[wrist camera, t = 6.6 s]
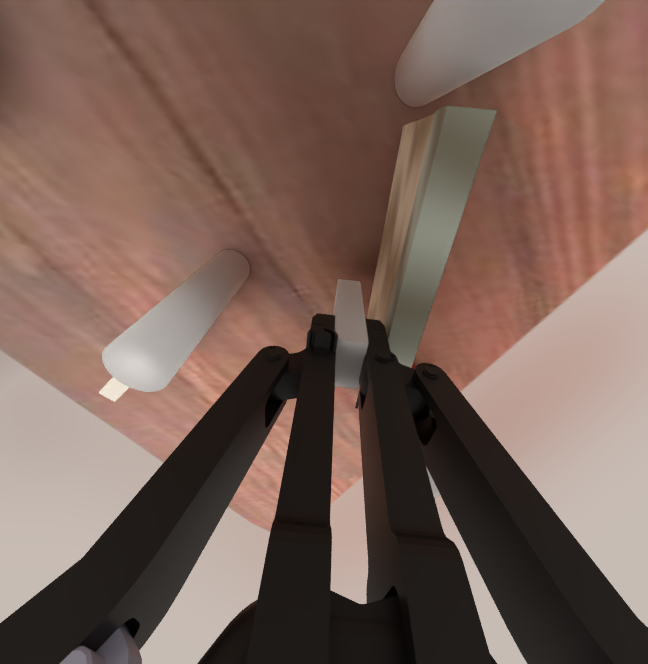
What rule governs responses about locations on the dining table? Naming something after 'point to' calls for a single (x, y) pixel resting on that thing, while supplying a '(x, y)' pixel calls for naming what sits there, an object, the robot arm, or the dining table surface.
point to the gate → (424, 219)
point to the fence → (414, 90)
